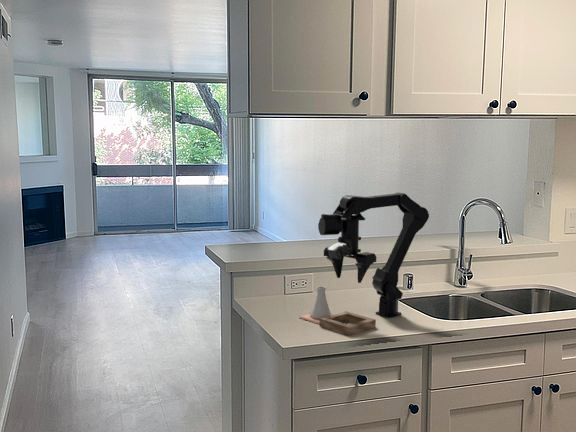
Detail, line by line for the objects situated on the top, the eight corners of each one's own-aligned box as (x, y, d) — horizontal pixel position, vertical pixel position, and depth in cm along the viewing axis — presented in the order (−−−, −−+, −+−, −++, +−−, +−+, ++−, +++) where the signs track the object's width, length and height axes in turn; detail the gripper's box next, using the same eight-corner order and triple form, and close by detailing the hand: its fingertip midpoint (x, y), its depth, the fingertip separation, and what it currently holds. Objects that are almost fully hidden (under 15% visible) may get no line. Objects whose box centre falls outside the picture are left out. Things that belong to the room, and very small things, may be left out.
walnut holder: (346, 318, 205) (346, 311, 204) (375, 327, 196) (375, 319, 195) (319, 326, 196) (319, 318, 196) (349, 335, 187) (349, 327, 187)
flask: (330, 313, 208) (330, 284, 207) (332, 319, 201) (333, 290, 200) (309, 313, 208) (309, 284, 207) (310, 319, 201) (311, 290, 200)
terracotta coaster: (320, 312, 212) (320, 310, 212) (341, 318, 204) (341, 317, 204) (299, 317, 205) (299, 316, 205) (320, 324, 198) (320, 322, 198)
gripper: (312, 232, 203) (311, 279, 205) (355, 240, 189) (354, 289, 191) (335, 229, 210) (334, 274, 212) (378, 236, 197) (376, 284, 199)
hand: (348, 280), depth 203 cm, fingers open, 9 cm apart
